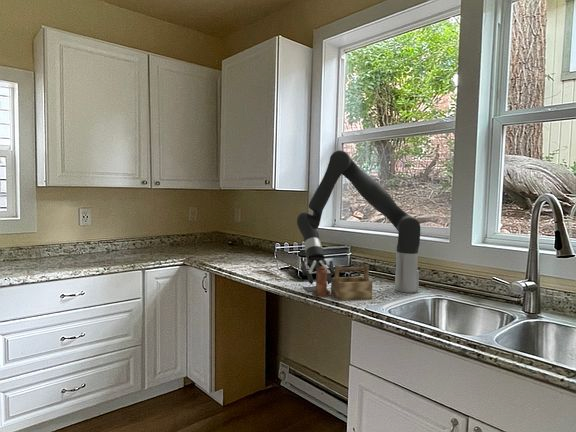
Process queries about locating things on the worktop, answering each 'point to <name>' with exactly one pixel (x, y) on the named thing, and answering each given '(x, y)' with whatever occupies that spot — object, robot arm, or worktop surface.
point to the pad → (310, 288)
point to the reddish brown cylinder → (321, 281)
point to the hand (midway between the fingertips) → (320, 283)
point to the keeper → (317, 293)
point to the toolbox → (351, 284)
